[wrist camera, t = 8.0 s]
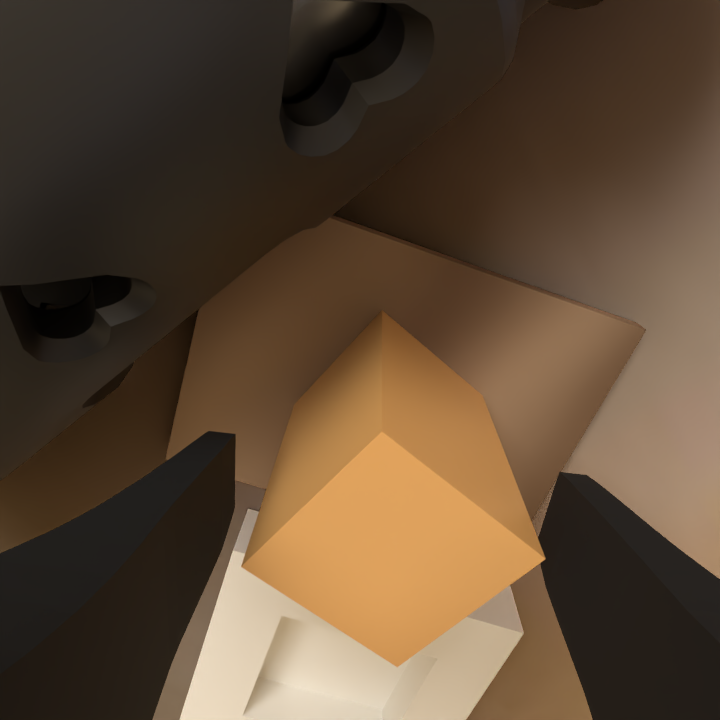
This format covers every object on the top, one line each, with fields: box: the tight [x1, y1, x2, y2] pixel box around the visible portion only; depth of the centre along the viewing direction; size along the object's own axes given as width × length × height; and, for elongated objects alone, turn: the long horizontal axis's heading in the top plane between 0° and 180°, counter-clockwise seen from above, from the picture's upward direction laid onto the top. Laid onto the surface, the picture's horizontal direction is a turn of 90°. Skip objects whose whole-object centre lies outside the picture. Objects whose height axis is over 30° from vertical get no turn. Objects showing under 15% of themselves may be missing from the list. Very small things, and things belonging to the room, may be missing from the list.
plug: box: [241, 310, 546, 667], centre depth 13 cm, size 4×4×6 cm
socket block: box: [180, 509, 524, 720], centre depth 20 cm, size 10×10×2 cm
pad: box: [165, 215, 646, 520], centre depth 16 cm, size 12×9×1 cm
